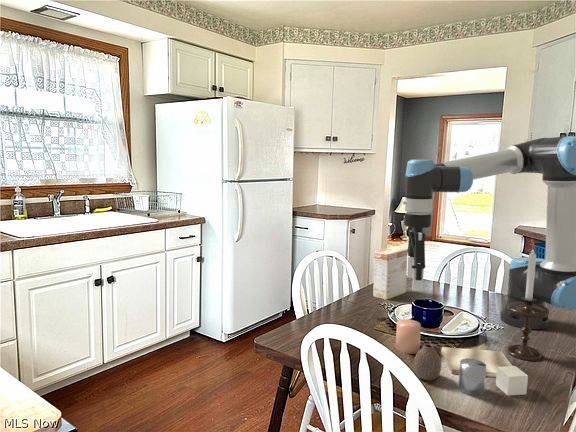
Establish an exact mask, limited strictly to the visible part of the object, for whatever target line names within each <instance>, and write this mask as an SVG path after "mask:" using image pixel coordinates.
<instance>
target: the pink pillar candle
mask: <svg viewBox="0 0 576 432" xmlns="http://www.w3.org/2000/svg"><path fill="white" fill-rule="evenodd" d="M421 328H422V325H421V323H420V322H419V321H417V320H413V319H410V318H409V319H406V318H402V319H399V320H397V321H396V333H395V349H396V350H397V351H398V352H400V353H403V354H409V355H414V354H417V352H418V351H419V350H420V349H421V347H420V346H421V330H422V329H421Z"/></svg>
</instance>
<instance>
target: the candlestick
mask: <svg viewBox="0 0 576 432" xmlns="http://www.w3.org/2000/svg"><path fill="white" fill-rule="evenodd" d="M530 242H531V251H530V253H528V258H529V260H528V271H527V283H526V295H525V297H522V298H521V299H523V300H525V302H510V303H508V304H507V309H508V310H509V311H510V312H512V313H515V314H518V315H521V316H525V318H524V327H522V328H520V332H521V333H522V335H521V336H520V339H521V341H522V343H521V344H511V345H508V346H507V348H506V352H507V354H508V355H509V356H511V357H512V358H516V359H517V360H521V361H526V362H527V361H528V362H537V361H540V360H541V359H542V355H543V354H542V353H541V351H540V350H538V349H536V348H534V347H531V346H528V343H529V342H528V341H530V340H531V338H530V336H529V335H531V333H532V329H530V328H529V320H530V317H533V318H543V317H547V316H548V317H549V316H550V309H548V308H547V307H546V306H545V307H544V306H541V305H538V304H534V303H533V301H537V300H536V299H534V298H533V287H534V276H535V264H536V258H537V254H536V253H535V248H536V245H535V242H534V238H533V237H532V238H531V240H530Z"/></svg>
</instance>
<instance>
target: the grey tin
mask: <svg viewBox="0 0 576 432" xmlns="http://www.w3.org/2000/svg"><path fill="white" fill-rule="evenodd" d="M486 377H487V376H486V364H485V363H483V362H482V361H479V360H476V359H471V358H465V359H462V360H461V361H460V372H459V374H458V387H457V388H458V390H459V391H460V392H461V393H462V394H464V395H465V396H469V397H478V398H479V397H482V396H484V395H485V391H486V390H485V388H486Z"/></svg>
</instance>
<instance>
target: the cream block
mask: <svg viewBox="0 0 576 432" xmlns="http://www.w3.org/2000/svg"><path fill="white" fill-rule="evenodd" d="M528 380H529V375H528V374H527V373H525V372H524V371H523V370H521V368H519V367H518V366H516V365H512V366H505V367H497V375H496V377H495V386H497V388H498V389H500V390H501V391H502V392H503V393H504V394H505V395H506V396H520V395H521V396H522V395H527V393H528V392H527V391H528Z"/></svg>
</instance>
